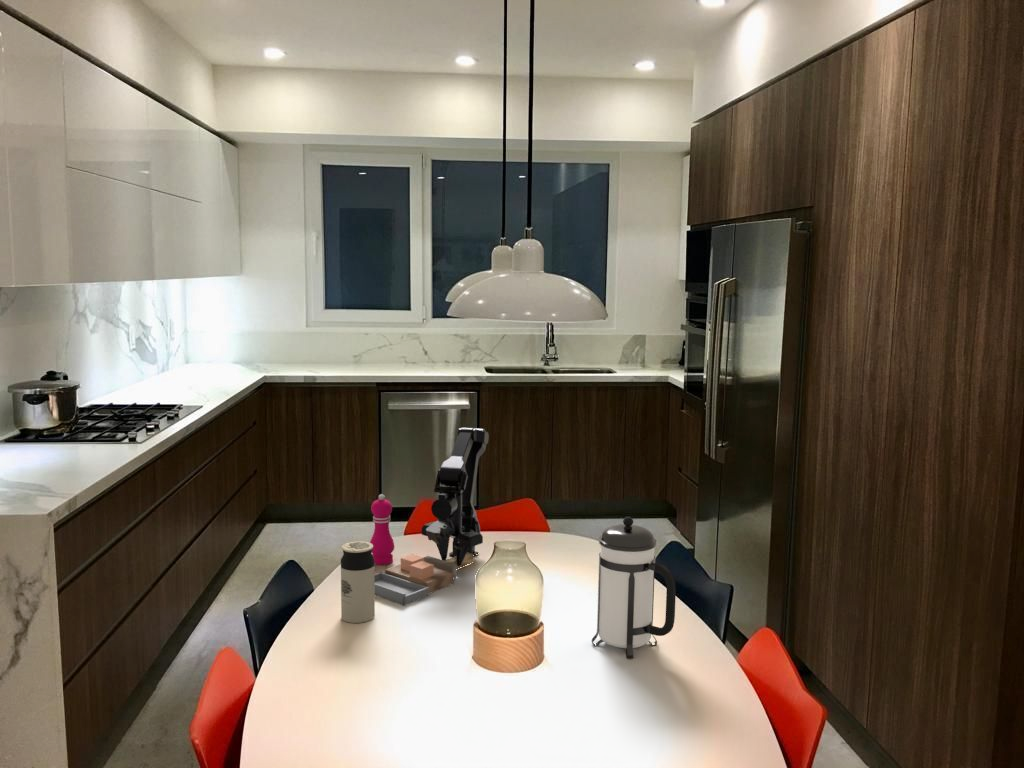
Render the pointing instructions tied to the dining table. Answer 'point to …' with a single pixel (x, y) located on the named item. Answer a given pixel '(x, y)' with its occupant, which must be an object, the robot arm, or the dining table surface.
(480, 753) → the dining table surface
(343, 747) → the dining table surface
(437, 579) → the board
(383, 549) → the pepper mill
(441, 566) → the scraper
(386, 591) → the box
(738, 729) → the dining table surface
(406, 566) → the tan square block
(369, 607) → the travel mug
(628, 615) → the coffee press
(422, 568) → the tile
